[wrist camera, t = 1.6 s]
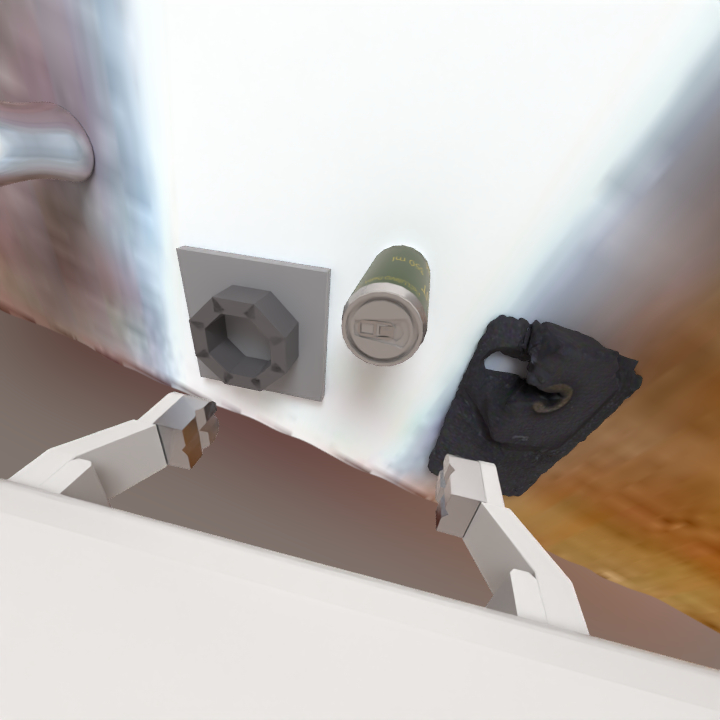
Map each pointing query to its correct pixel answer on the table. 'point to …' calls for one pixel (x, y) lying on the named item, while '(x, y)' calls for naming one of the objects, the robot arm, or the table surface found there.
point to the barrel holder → (257, 320)
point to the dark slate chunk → (532, 400)
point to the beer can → (389, 308)
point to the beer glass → (42, 144)
